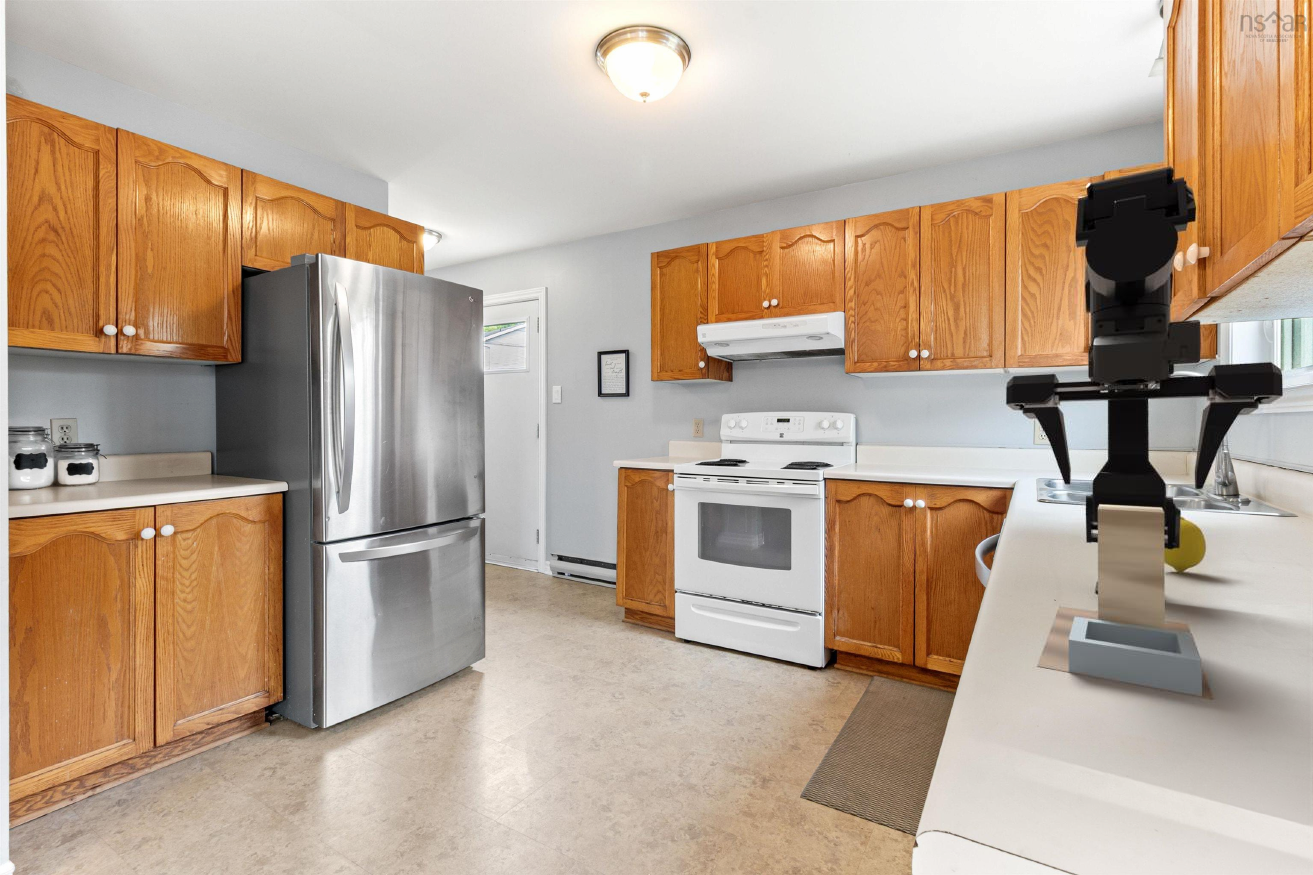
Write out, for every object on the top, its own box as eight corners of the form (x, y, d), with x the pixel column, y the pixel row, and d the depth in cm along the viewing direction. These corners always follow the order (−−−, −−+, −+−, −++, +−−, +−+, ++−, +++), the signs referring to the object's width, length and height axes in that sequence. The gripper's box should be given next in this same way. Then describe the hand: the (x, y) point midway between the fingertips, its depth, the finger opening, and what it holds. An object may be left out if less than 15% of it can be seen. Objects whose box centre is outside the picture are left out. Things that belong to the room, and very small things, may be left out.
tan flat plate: (1059, 615, 67) (1059, 606, 67) (1187, 633, 61) (1187, 623, 61) (1037, 678, 49) (1037, 665, 49) (1213, 713, 43) (1213, 699, 43)
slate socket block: (1074, 644, 54) (1074, 616, 54) (1191, 664, 50) (1191, 633, 50) (1068, 671, 48) (1068, 639, 48) (1201, 696, 43) (1201, 660, 44)
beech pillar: (1099, 633, 58) (1099, 504, 58) (1162, 642, 55) (1161, 507, 55) (1098, 645, 54) (1097, 508, 54) (1164, 656, 51) (1164, 512, 51)
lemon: (1155, 566, 92) (1155, 513, 92) (1205, 571, 89) (1204, 516, 89) (1154, 573, 88) (1154, 516, 88) (1207, 578, 85) (1206, 520, 85)
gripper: (997, 304, 55) (995, 481, 54) (1296, 269, 44) (1301, 491, 43) (1014, 331, 64) (1013, 482, 63) (1267, 307, 52) (1270, 492, 52)
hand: (1129, 486), depth 55 cm, fingers open, 9 cm apart
